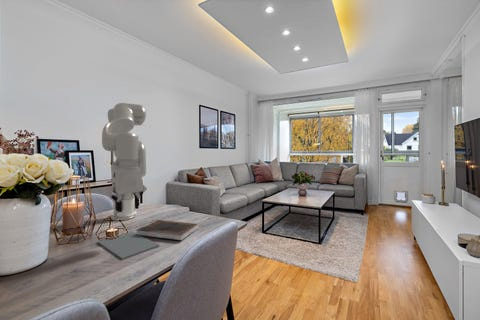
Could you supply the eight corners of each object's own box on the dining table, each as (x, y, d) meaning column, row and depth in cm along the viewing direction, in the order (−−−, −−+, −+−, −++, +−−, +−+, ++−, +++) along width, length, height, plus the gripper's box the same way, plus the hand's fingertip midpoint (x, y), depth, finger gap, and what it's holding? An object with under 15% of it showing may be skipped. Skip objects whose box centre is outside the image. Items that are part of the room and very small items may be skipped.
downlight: (118, 212, 91) (118, 188, 90) (137, 210, 93) (137, 187, 92) (115, 218, 83) (114, 192, 83) (135, 216, 86) (135, 191, 85)
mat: (97, 242, 89) (97, 241, 89) (132, 233, 100) (132, 231, 100) (122, 259, 76) (122, 258, 76) (159, 246, 87) (159, 244, 87)
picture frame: (136, 235, 96) (181, 241, 91) (136, 229, 96) (181, 235, 91) (158, 224, 112) (198, 228, 107) (158, 219, 112) (198, 223, 107)
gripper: (107, 165, 78) (107, 216, 78) (152, 163, 91) (153, 207, 92) (98, 164, 82) (99, 212, 83) (143, 163, 96) (143, 204, 97)
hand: (127, 209), depth 87 cm, fingers closed on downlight, 5 cm apart
